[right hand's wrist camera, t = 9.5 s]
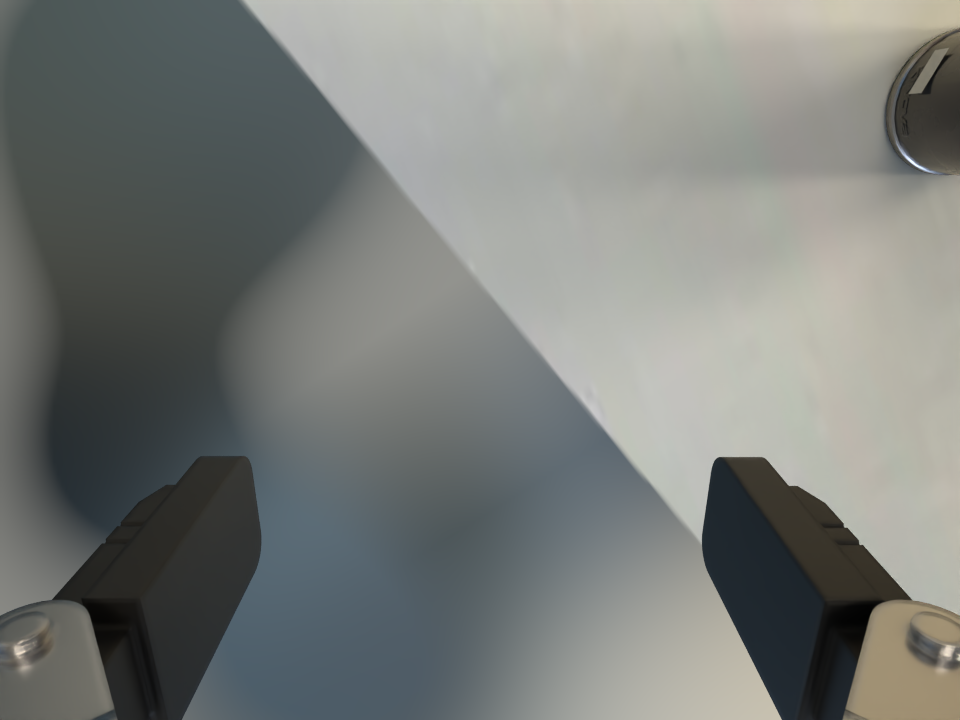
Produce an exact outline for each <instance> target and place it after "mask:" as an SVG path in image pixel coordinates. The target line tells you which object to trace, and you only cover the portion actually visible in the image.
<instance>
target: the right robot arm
mask: <svg viewBox="0 0 960 720" xmlns="http://www.w3.org/2000/svg"><path fill="white" fill-rule="evenodd" d="M886 124H887V131H888V135H889V139H890V142H891V144H892V146H893V148H894V150H895V151H896V153H897V154H898V155H899V157H900V158H901V159H902V160H903V161H904V162H906V163H907V164H908V165H910V166H911V167H913V168H915V169H917V170H920V171H922V172H926V173H931V174H939V175H960V28H959V29H955V30H952V31H949V32H946V33H944V34H942V35H940V36H938V37H936V38H934V39H933V40H931V41H930V42H928V43H927V44H926V45H924V46H923V47H922V48H921V49H919V50H918V51H917V52H916V53H915V54H914V55H913V56H912V57H911V59H910V60H909V61H908V62H907V63H906V65H905V66H904V67H903V69H902V70H901V72H900V74H899V75H898V77H897V79H896V81H895V83H894V85H893V88H892V90H891V93H890V96H889V100H888V105H887V114H886ZM702 550H703V557H704V562H705V566H706V568H707V571H708V573H709V575H710V577H711V579H712V581H713V583H714V585H715V587H716V589H717V591H718V593H719V595H720V597H721V599H722V601H723V603H724V605H725V607H726V609H727V611H728V613H729V615H730V617H731V619H732V621H733V623H734V625H735V627H736V629H737V631H738V633H739V635H740V637H741V639H742V641H743V643H744V645H745V647H746V649H747V651H748V653H749V655H750V657H751V659H752V661H753V663H754V665H755V667H756V669H757V671H758V673H759V675H760V677H761V679H762V681H763V683H764V685H765V687H766V689H767V691H768V693H769V695H770V697H771V699H772V701H773V703H774V705H775V707H776V709H777V711H778V713H779V715H780V717H781V719H782V720H960V616H959V615H957V614H955V613H953V612H951V611H948V610H946V609H943V608H941V607H938V606H935V605H931V604H928V603H923V602H919V601H913V600H912V599H911V598H910V597H909V596H908V595H907V594H906V593H905V592H904V590H903V589H902V588H901V587H900V586H899V585H898V584H897V583H896V581H895V580H894V579H893V578H892V577H891V576H890V575H889V574H888V573H887V571H886V570H885V569H884V568H883V567H882V566H881V565H880V564H879V563H878V561H877V560H876V559H875V558H874V557H873V556H872V555H871V554H870V553H869V551H868V550H867V549H866V548H865V547H864V546H863V545H859V540H858V539H857V538H856V537H855V536H854V535H853V534H852V532H851V531H850V530H849V529H848V528H844V524H843V522H842V521H841V520H840V519H839V518H838V517H837V516H836V515H835V514H834V512H833V511H832V510H831V509H830V508H829V507H828V506H827V505H826V503H824V502H822V501H821V500H819V499H818V498H816V497H814V496H813V495H811V494H809V493H808V492H806V491H805V490H803V489H801V488H800V487H798V486H788V485H787V483H786V482H785V481H784V480H783V479H782V477H781V476H780V475H779V474H778V473H777V471H776V470H775V469H774V468H773V467H772V466H771V464H770V463H769V462H768V461H767V460H766V459H765V458H763V457H719V458H717V459H716V460H715V461H714V463H713V466H712V471H711V477H710V484H709V491H708V498H707V505H706V512H705V519H704V526H703V533H702ZM260 551H261V529H260V522H259V515H258V508H257V501H256V494H255V487H254V480H253V473H252V467H251V464H250V461H249V459H248V458H247V457H245V456H201V457H199V458H198V459H197V460H196V461H195V462H194V463H193V464H192V466H191V467H190V468H189V469H188V470H187V472H186V473H185V474H184V475H183V476H182V478H181V479H180V480H179V481H178V482H177V484H176V485H166V486H164V487H162V488H161V489H159V490H158V491H156V492H154V493H153V494H151V495H149V496H148V497H146V498H145V499H143V500H141V501H140V502H139V503H138V504H137V505H136V506H135V507H134V508H133V509H132V510H131V512H130V513H129V514H128V515H127V516H126V517H125V518H124V519H123V521H122V522H121V526H117V527H116V528H115V530H114V531H113V532H112V533H111V534H110V535H109V536H108V537H107V538H106V543H105V544H101V545H100V546H99V548H98V549H97V550H96V551H95V552H94V553H93V554H92V555H91V556H90V558H89V559H88V560H87V561H86V562H85V563H84V564H83V565H82V567H81V568H80V569H79V570H78V571H77V572H76V573H75V575H74V576H73V577H72V578H71V579H70V580H69V581H68V582H67V583H66V585H65V586H64V587H63V588H62V589H61V590H60V591H59V592H58V594H57V595H56V596H55V597H54V598H53V599H52V600H49V601H41V602H37V603H33V604H29V605H25V606H22V607H19V608H17V609H14V610H12V611H9V612H7V613H5V614H3V615H1V616H0V720H182V718H183V716H184V714H185V712H186V710H187V708H188V706H189V704H190V702H191V700H192V698H193V696H194V694H195V692H196V690H197V688H198V686H199V684H200V682H201V680H202V678H203V676H204V674H205V671H206V670H207V668H208V666H209V663H210V662H211V660H212V658H213V656H214V653H215V651H216V649H217V647H218V645H219V643H220V641H221V639H222V637H223V635H224V633H225V631H226V629H227V627H228V625H229V623H230V621H231V619H232V617H233V615H234V613H235V611H236V609H237V607H238V605H239V603H240V601H241V599H242V597H243V595H244V593H245V591H246V589H247V587H248V585H249V583H250V581H251V579H252V577H253V575H254V573H255V571H256V568H257V565H258V562H259V558H260Z"/></svg>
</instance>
